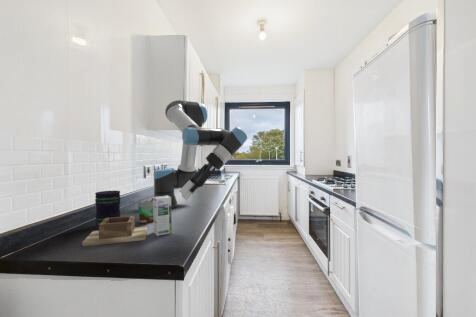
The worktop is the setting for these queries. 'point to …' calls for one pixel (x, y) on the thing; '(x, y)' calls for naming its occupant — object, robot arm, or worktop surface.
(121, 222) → the box
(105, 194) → the storage jar
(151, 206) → the food container
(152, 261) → the worktop surface
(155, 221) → the syrup box
